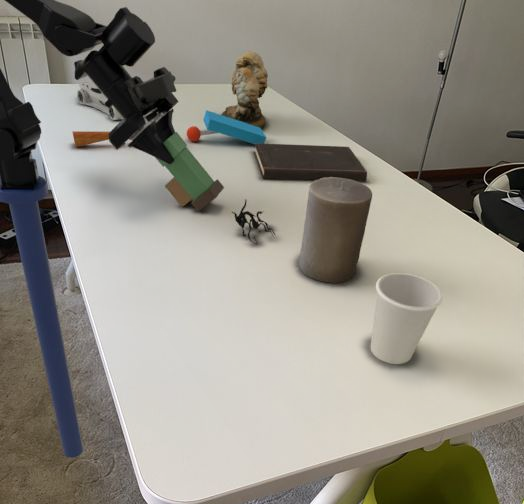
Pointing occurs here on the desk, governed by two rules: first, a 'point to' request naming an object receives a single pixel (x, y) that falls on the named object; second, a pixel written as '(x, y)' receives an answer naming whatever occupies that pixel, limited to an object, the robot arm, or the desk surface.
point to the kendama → (89, 137)
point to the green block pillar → (188, 176)
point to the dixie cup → (402, 315)
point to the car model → (96, 99)
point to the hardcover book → (308, 162)
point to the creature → (242, 220)
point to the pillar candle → (334, 228)
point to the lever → (227, 129)
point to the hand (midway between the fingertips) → (177, 158)
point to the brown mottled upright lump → (248, 90)
